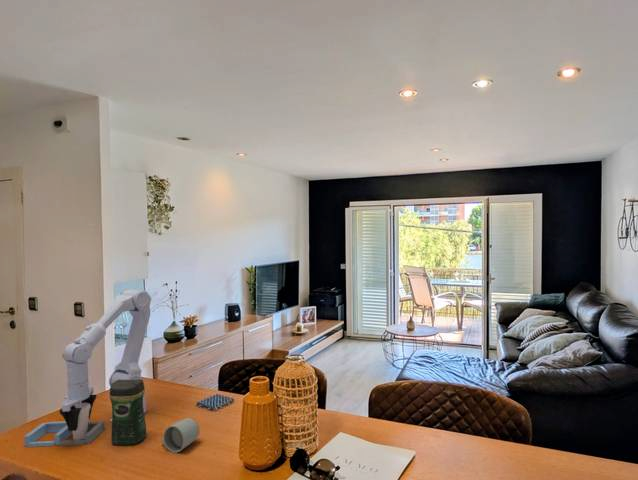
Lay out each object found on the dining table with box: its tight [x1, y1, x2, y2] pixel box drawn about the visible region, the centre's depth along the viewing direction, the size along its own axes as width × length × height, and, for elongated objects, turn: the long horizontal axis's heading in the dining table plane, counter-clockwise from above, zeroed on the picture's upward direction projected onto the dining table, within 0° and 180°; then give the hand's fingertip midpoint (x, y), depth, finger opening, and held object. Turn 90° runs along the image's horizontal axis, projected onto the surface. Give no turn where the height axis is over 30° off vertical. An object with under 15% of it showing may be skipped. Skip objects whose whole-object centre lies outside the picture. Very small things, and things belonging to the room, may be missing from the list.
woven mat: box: [195, 393, 235, 413], centre depth 156 cm, size 10×11×2 cm
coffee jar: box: [109, 378, 147, 446], centre depth 131 cm, size 10×8×19 cm
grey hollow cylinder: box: [161, 417, 200, 453], centre depth 127 cm, size 11×8×8 cm
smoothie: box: [72, 402, 91, 440], centre depth 133 cm, size 6×6×14 cm
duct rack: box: [23, 420, 106, 448], centre depth 133 cm, size 20×10×3 cm, turn 92°
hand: (79, 424), depth 133 cm, fingers open, 7 cm apart
